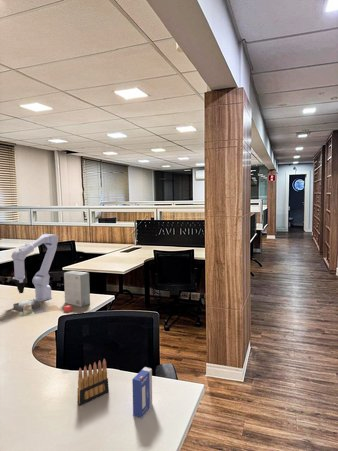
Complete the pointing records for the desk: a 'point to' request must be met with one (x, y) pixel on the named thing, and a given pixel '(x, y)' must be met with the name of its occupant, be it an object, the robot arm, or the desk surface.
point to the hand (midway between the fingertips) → (20, 291)
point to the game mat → (41, 310)
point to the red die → (67, 308)
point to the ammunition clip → (92, 383)
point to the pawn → (27, 308)
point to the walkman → (142, 392)
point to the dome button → (25, 303)
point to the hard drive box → (77, 288)
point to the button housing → (22, 307)
